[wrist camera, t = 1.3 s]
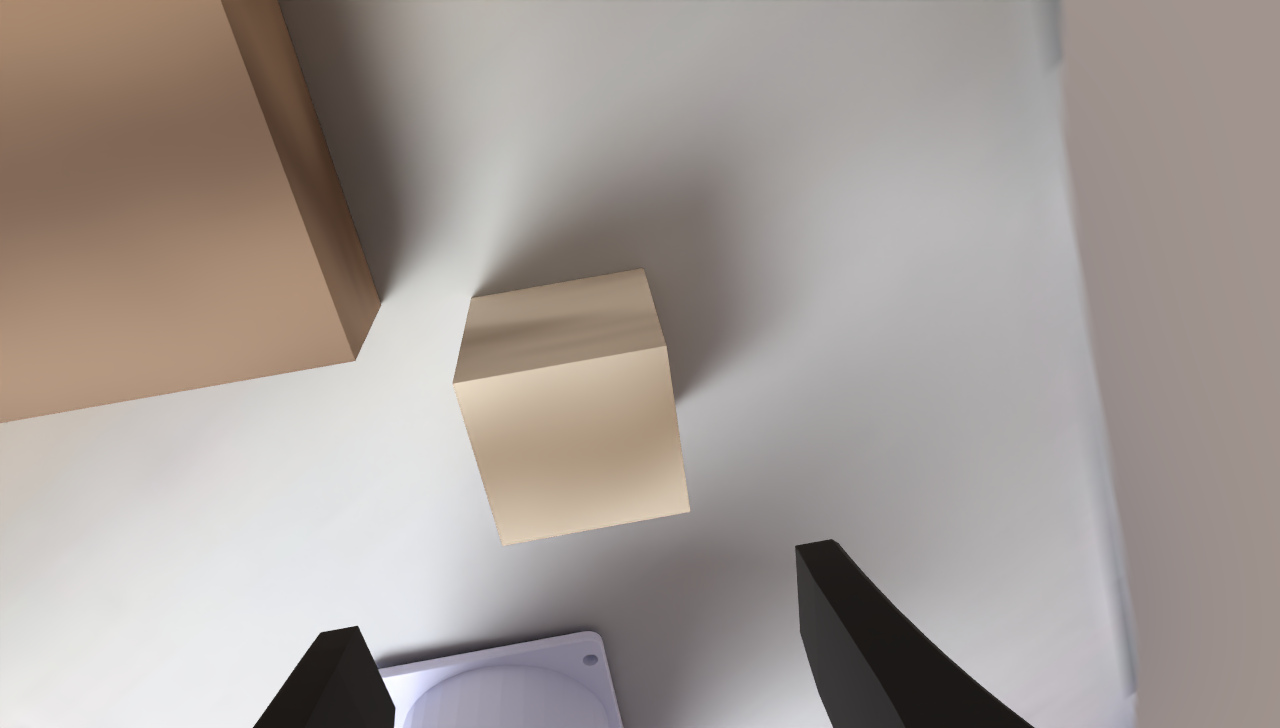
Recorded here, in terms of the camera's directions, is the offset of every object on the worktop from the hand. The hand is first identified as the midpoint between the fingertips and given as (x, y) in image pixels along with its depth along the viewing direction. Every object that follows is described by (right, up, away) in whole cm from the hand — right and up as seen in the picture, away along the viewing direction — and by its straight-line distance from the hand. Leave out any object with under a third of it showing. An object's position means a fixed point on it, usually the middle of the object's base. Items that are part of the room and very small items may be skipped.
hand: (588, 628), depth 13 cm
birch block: (-1, +5, +8) cm, 10 cm away
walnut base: (-11, +9, +5) cm, 15 cm away
